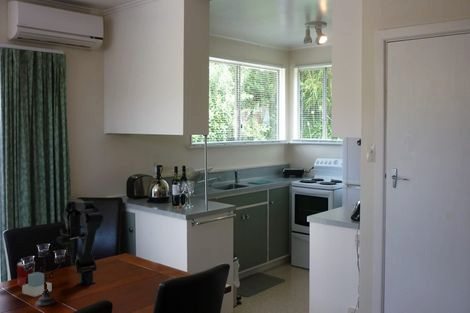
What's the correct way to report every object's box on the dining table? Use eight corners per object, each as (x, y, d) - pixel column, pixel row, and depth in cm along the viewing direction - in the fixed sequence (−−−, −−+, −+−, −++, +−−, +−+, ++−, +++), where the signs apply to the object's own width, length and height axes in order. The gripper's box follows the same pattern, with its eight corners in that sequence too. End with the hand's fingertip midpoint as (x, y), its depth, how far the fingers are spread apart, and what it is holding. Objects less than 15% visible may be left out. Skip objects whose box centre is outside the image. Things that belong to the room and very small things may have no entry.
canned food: (28, 288, 220) (28, 265, 220) (14, 287, 222) (13, 264, 222) (38, 283, 228) (38, 261, 227) (24, 282, 230) (23, 260, 229)
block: (44, 284, 215) (44, 273, 215) (34, 287, 211) (34, 276, 211) (38, 282, 218) (38, 271, 218) (28, 285, 214) (28, 274, 214)
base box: (51, 291, 216) (51, 283, 216) (34, 297, 209) (34, 288, 209) (39, 288, 221) (39, 280, 221) (22, 294, 213) (22, 285, 213)
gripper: (81, 219, 250) (81, 247, 250) (49, 224, 234) (50, 255, 235) (94, 221, 243) (94, 250, 244) (62, 227, 228) (63, 258, 229)
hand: (75, 253), depth 238 cm, fingers open, 9 cm apart
